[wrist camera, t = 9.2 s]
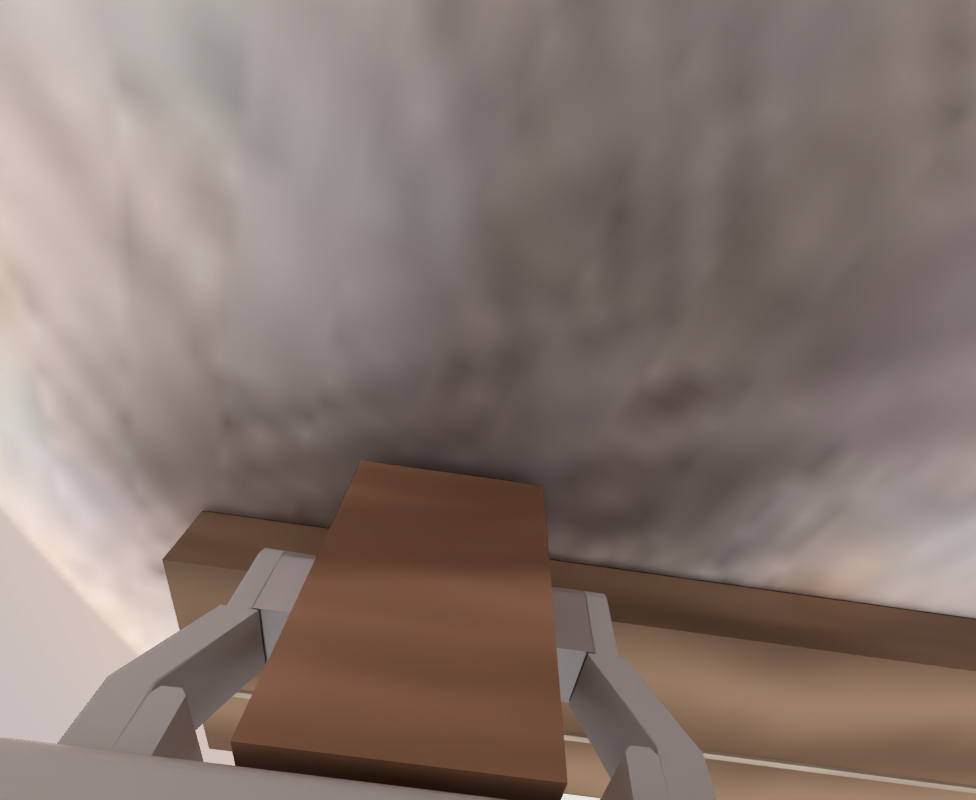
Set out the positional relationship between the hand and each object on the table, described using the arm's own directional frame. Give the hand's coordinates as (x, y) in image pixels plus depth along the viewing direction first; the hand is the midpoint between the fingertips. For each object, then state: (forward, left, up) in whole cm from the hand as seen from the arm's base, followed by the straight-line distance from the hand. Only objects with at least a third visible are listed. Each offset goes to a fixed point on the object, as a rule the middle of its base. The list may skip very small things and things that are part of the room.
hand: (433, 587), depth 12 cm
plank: (+7, +7, -3) cm, 11 cm away
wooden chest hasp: (+4, 0, -3) cm, 5 cm away
